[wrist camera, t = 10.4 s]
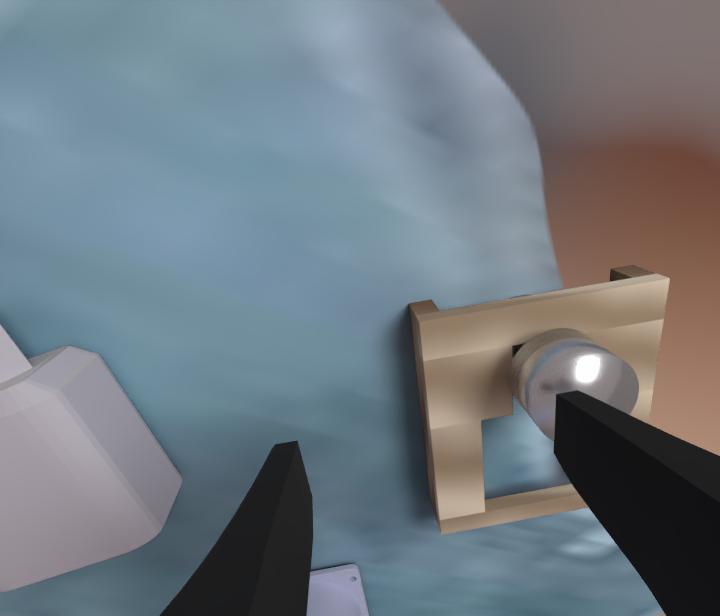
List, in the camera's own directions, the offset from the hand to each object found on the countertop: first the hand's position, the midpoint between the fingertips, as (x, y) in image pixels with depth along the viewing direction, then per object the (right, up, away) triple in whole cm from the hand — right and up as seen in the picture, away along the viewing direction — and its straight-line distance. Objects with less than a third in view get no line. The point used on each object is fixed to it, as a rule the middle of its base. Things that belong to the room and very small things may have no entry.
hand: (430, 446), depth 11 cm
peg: (+7, +2, +11) cm, 13 cm away
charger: (-19, -1, +10) cm, 22 cm away
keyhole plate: (+8, -1, +12) cm, 15 cm away
